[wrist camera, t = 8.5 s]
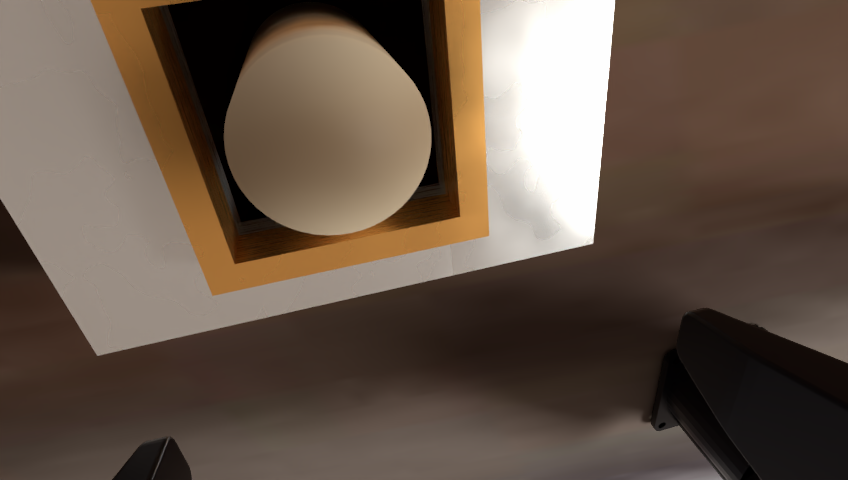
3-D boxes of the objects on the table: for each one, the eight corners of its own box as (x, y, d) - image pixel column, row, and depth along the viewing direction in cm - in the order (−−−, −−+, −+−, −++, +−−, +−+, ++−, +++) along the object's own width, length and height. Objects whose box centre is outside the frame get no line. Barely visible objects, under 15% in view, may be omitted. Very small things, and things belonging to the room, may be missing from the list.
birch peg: (389, 126, 18) (439, 215, 12) (266, 148, 18) (257, 252, 12) (371, -8, 16) (420, 23, 10) (228, 12, 15) (192, 56, 9)
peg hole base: (537, 189, 21) (617, 267, 16) (135, 272, 19) (79, 393, 14) (545, -181, 15) (680, -243, 10) (-63, -123, 12) (-302, -166, 7)
